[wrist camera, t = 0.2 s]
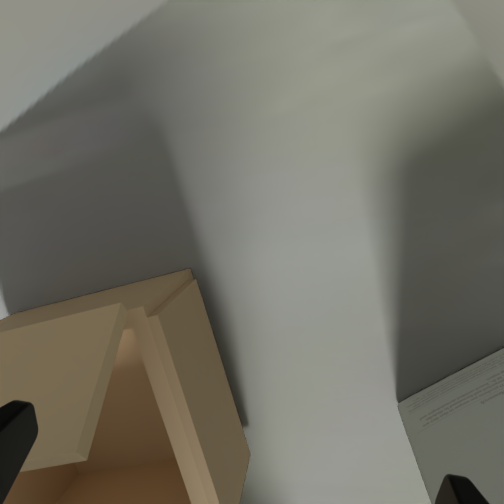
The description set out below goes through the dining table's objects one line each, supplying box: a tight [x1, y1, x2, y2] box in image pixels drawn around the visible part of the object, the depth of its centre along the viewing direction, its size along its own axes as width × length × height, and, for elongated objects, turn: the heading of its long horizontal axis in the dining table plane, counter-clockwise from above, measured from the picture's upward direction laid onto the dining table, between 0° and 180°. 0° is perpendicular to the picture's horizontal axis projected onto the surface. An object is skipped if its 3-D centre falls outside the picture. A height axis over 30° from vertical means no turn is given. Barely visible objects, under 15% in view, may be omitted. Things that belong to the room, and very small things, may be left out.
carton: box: [0, 269, 250, 504], centre depth 23 cm, size 12×13×7 cm
